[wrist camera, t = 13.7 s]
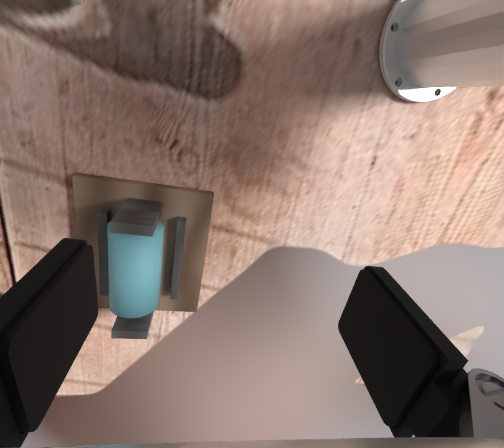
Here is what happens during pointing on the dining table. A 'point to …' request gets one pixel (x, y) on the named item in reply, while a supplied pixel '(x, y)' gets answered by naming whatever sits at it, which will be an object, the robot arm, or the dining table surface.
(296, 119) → the dining table surface
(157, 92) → the dining table surface
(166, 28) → the dining table surface
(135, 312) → the light blue cylinder
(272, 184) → the dining table surface
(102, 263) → the roll holder
